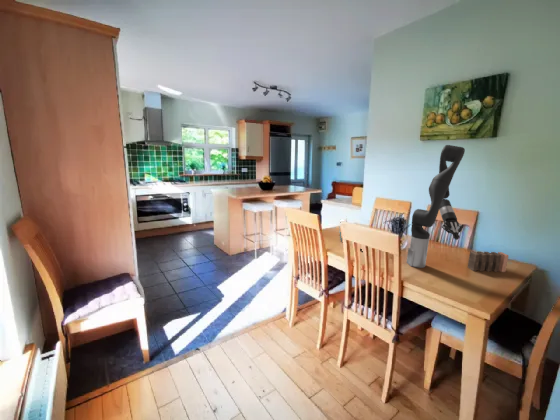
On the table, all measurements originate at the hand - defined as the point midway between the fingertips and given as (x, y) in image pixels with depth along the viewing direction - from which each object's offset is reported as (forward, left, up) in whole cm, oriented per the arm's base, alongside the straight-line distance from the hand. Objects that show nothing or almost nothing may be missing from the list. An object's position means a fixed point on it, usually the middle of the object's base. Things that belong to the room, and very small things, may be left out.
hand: (457, 239), depth 159 cm
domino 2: (+10, -8, -15) cm, 20 cm away
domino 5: (+22, -8, -15) cm, 28 cm away
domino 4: (+18, -8, -15) cm, 25 cm away
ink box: (-56, +54, -16) cm, 79 cm away
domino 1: (+6, -8, -15) cm, 18 cm away
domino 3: (+14, -8, -15) cm, 22 cm away
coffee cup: (-58, +38, -16) cm, 71 cm away
